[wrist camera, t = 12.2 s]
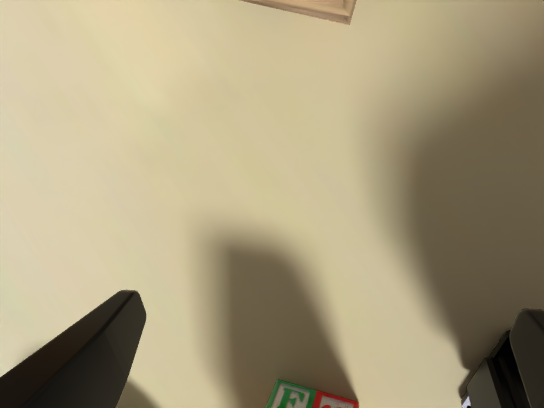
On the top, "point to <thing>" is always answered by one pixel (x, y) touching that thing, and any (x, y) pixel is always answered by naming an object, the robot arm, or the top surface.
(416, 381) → the top surface
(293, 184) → the top surface
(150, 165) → the top surface
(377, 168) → the top surface
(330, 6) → the tower top
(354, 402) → the stack of blocks
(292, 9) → the tower base
